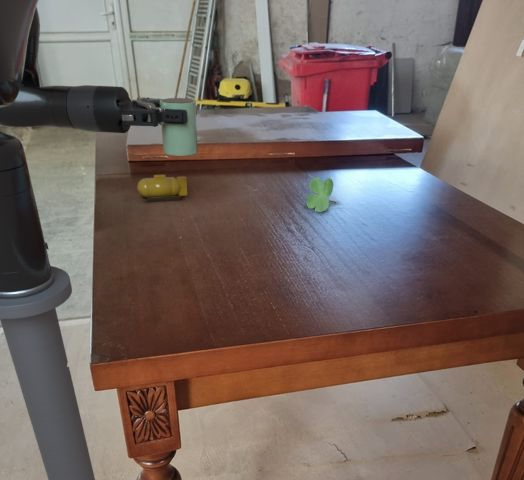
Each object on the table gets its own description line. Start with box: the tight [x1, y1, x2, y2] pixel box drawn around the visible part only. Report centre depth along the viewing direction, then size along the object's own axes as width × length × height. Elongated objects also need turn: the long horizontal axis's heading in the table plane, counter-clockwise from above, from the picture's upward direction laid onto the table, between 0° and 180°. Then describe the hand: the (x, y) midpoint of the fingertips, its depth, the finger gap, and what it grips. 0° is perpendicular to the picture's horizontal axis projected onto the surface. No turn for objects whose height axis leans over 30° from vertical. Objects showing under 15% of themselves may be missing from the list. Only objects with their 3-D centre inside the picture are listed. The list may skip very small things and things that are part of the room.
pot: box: [160, 97, 199, 157], centre depth 93 cm, size 6×6×8 cm
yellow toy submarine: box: [136, 174, 188, 202], centre depth 110 cm, size 10×4×5 cm, turn 102°
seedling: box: [305, 176, 337, 213], centre depth 108 cm, size 7×8×6 cm
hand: (191, 113), depth 92 cm, fingers closed on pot, 6 cm apart
